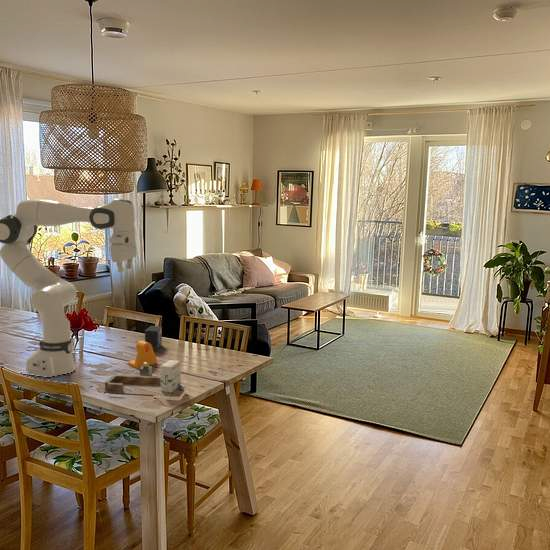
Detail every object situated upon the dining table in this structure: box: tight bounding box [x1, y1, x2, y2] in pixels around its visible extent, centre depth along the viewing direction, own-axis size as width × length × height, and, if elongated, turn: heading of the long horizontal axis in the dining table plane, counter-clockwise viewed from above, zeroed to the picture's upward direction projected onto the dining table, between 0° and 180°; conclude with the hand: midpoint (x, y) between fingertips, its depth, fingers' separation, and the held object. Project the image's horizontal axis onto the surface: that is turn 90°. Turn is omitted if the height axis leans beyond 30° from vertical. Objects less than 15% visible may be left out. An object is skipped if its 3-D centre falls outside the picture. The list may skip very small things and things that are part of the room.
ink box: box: [159, 359, 181, 393], centre depth 220 cm, size 9×5×12 cm, turn 163°
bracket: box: [128, 340, 158, 369], centre depth 249 cm, size 11×7×12 cm, turn 140°
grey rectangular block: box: [139, 362, 153, 376], centre depth 233 cm, size 4×4×6 cm
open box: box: [103, 374, 161, 397], centre depth 221 cm, size 20×11×4 cm, turn 85°
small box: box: [144, 325, 163, 352], centre depth 278 cm, size 11×6×10 cm, turn 178°
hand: (125, 270), depth 231 cm, fingers open, 8 cm apart
